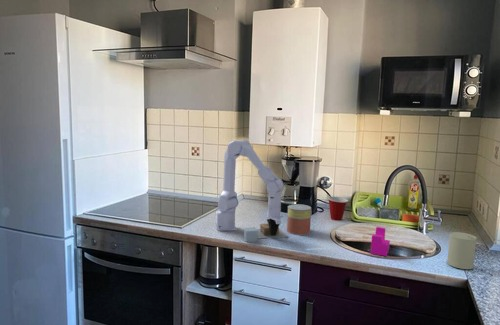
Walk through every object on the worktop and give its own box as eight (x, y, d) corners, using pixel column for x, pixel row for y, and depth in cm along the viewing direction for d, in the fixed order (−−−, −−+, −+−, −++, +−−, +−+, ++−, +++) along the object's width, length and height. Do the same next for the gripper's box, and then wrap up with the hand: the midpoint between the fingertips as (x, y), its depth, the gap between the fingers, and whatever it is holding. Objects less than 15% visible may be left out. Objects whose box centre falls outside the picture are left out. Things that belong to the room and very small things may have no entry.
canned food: (314, 230, 184) (315, 206, 182) (303, 236, 174) (304, 211, 173) (293, 226, 190) (294, 203, 188) (282, 231, 181) (283, 207, 179)
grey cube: (246, 242, 164) (246, 231, 164) (243, 238, 169) (244, 227, 169) (257, 241, 166) (257, 230, 165) (254, 238, 170) (254, 227, 170)
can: (466, 271, 140) (470, 240, 138) (442, 263, 147) (445, 233, 146) (478, 266, 145) (481, 235, 144) (453, 258, 153) (456, 229, 151)
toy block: (386, 256, 153) (387, 238, 152) (370, 253, 156) (371, 235, 155) (390, 245, 167) (391, 228, 166) (375, 242, 169) (376, 226, 168)
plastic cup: (345, 223, 197) (346, 201, 196) (324, 221, 201) (325, 199, 200) (348, 218, 207) (349, 197, 206) (328, 216, 211) (329, 195, 210)
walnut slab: (264, 235, 174) (264, 228, 173) (260, 230, 180) (260, 223, 180) (278, 234, 175) (278, 227, 175) (274, 230, 182) (274, 223, 181)
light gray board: (258, 238, 169) (258, 238, 169) (251, 229, 183) (251, 229, 183) (288, 237, 173) (288, 236, 173) (278, 228, 186) (278, 227, 186)
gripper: (288, 209, 164) (286, 239, 165) (278, 201, 178) (276, 229, 179) (272, 210, 162) (271, 240, 164) (263, 202, 176) (262, 230, 178)
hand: (273, 235), depth 171 cm, fingers closed
